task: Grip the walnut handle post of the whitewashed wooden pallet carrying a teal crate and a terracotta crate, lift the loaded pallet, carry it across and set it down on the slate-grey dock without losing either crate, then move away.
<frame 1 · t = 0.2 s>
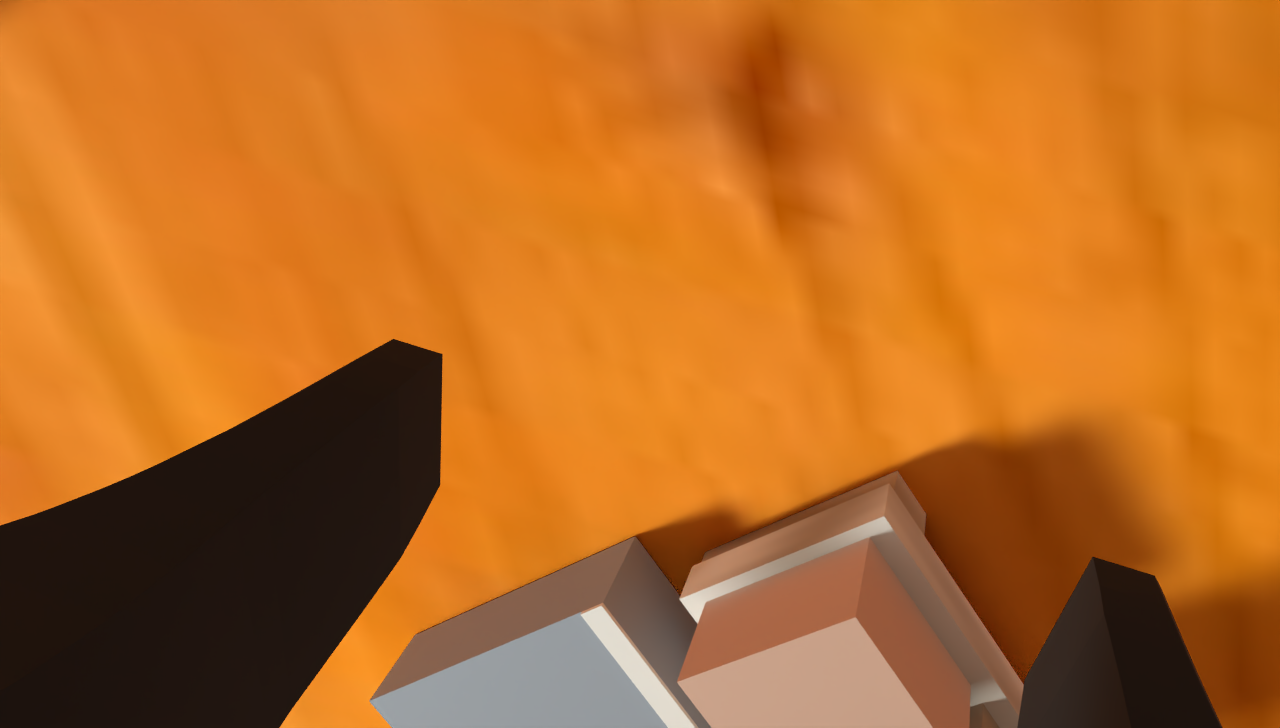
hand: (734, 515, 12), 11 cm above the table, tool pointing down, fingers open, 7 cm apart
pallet: (943, 723, 26), on the table, touching teal crate, terracotta crate
terracotta crate: (835, 642, 23), point 2 cm above the table, touching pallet
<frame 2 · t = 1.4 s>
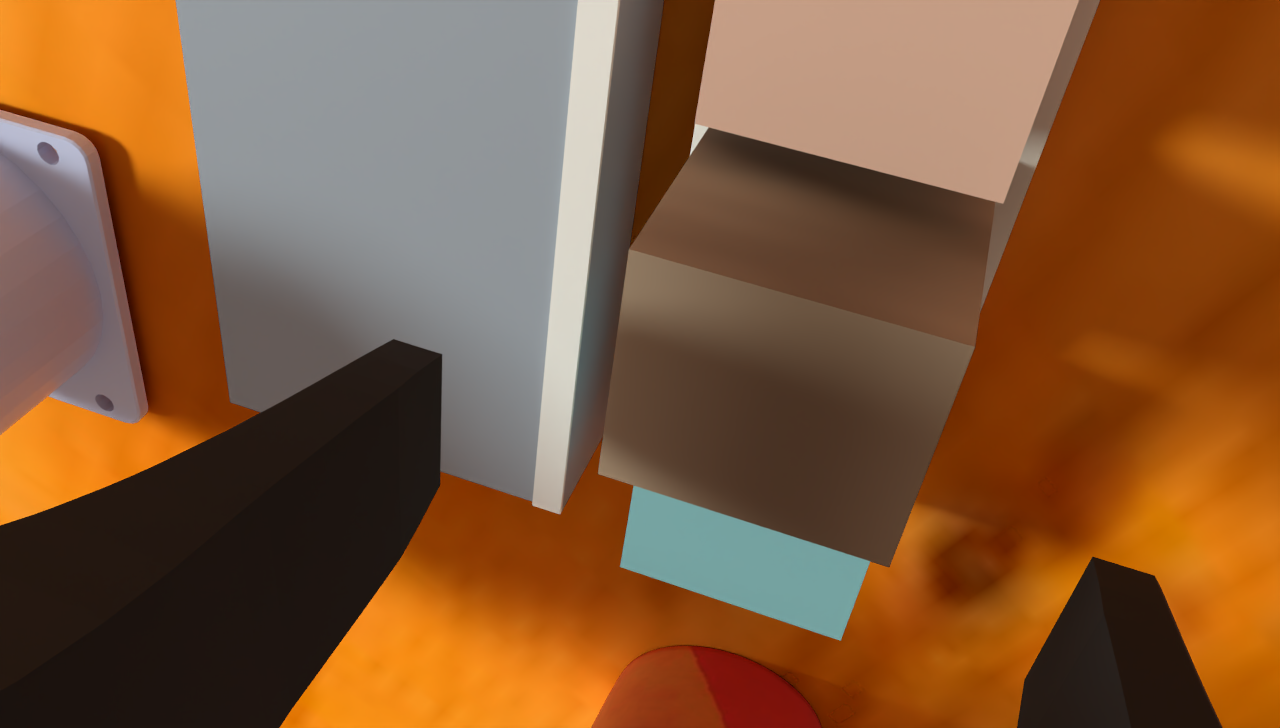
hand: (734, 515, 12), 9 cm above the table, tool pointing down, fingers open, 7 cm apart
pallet: (857, 171, 19), on the table, touching teal crate, terracotta crate
dock: (451, 67, 20), on the table
teal crate: (781, 430, 20), point 2 cm above the table, touching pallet
paper cup: (718, 712, 29), on the table
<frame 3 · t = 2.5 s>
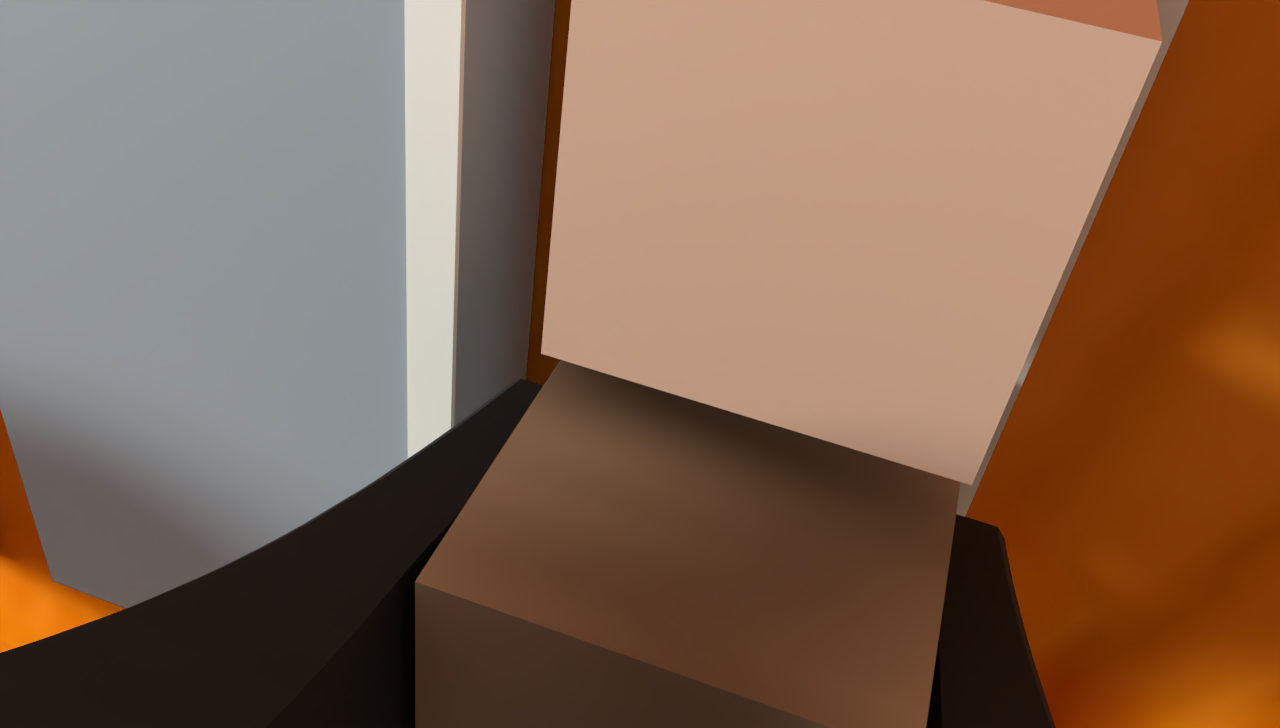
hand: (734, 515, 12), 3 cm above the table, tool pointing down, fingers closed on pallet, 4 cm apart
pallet: (797, 344, 15), on the table, touching gripper, teal crate, terracotta crate
dock: (293, 198, 16), on the table
terracotta crate: (848, 103, 11), point 2 cm above the table, touching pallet
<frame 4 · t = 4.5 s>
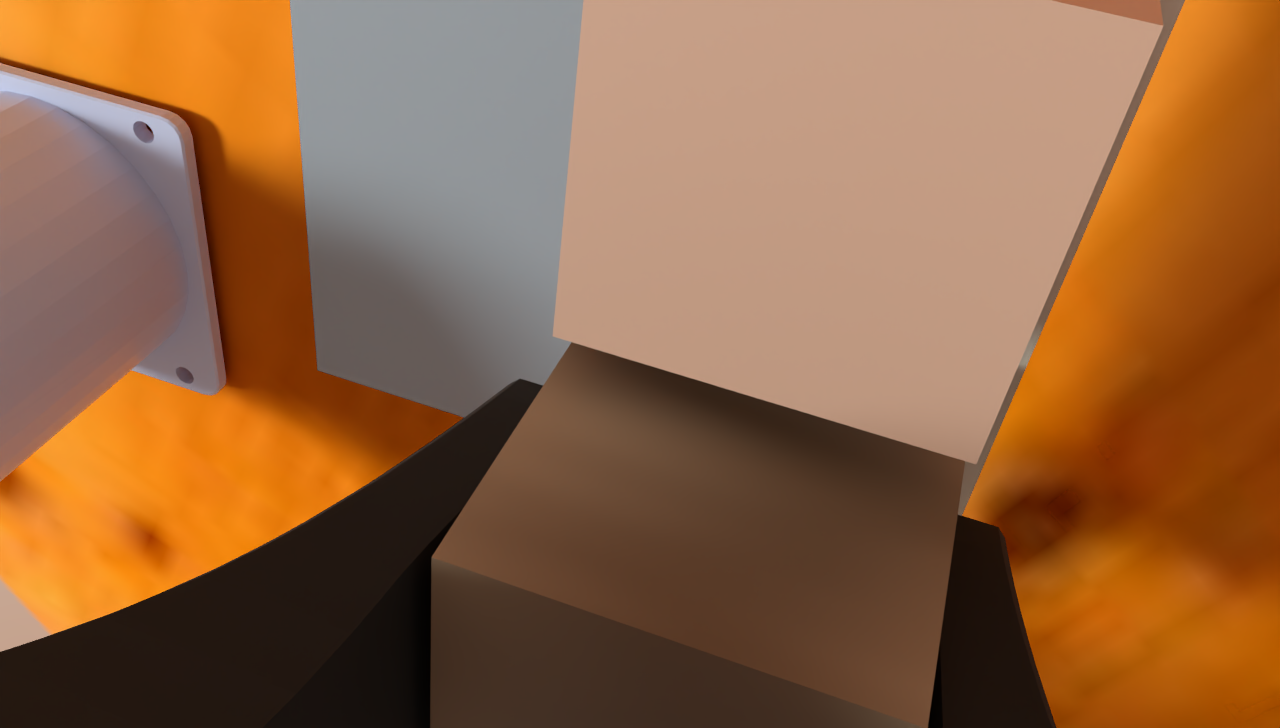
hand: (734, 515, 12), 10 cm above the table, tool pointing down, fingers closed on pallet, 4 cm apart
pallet: (802, 330, 15), point 7 cm above the table, touching gripper, teal crate, terracotta crate
dock: (540, 47, 21), on the table
terracotta crate: (855, 90, 11), point 9 cm above the table, touching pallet
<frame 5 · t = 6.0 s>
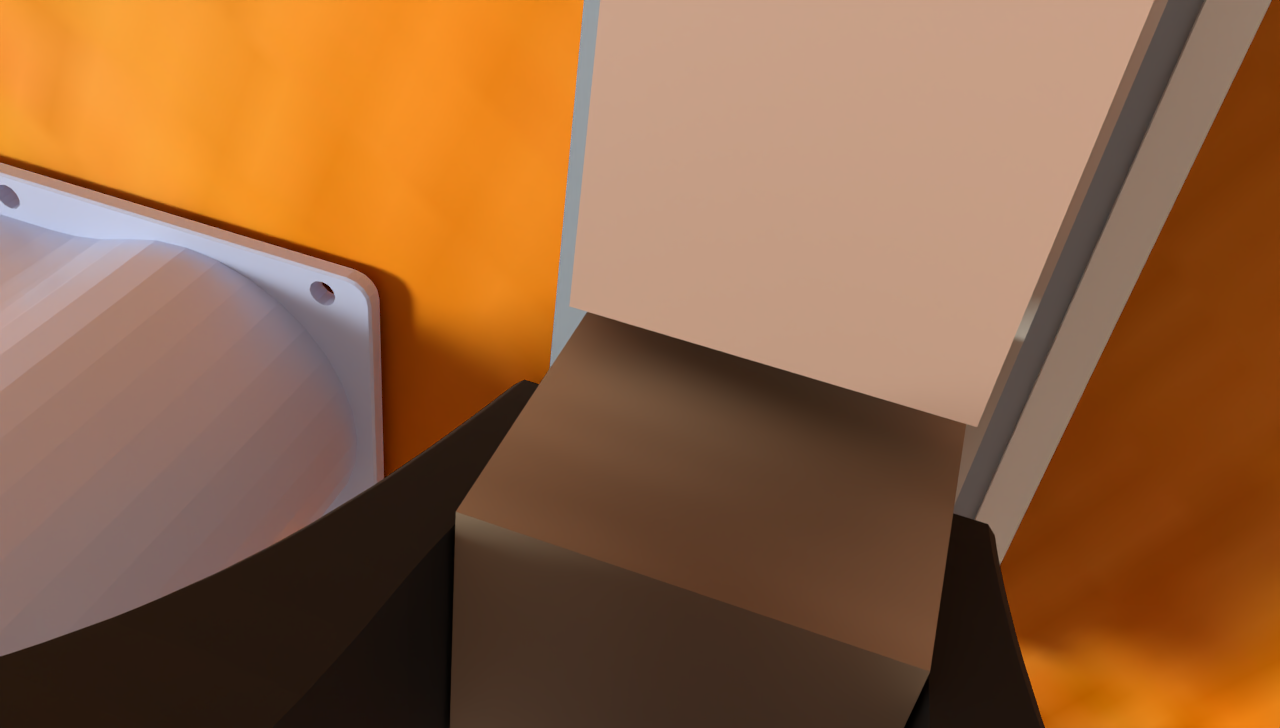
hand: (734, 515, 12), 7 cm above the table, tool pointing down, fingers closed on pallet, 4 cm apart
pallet: (807, 309, 15), point 3 cm above the table, touching gripper, teal crate, terracotta crate
dock: (843, 223, 18), on the table
terracotta crate: (860, 70, 11), point 5 cm above the table, touching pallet
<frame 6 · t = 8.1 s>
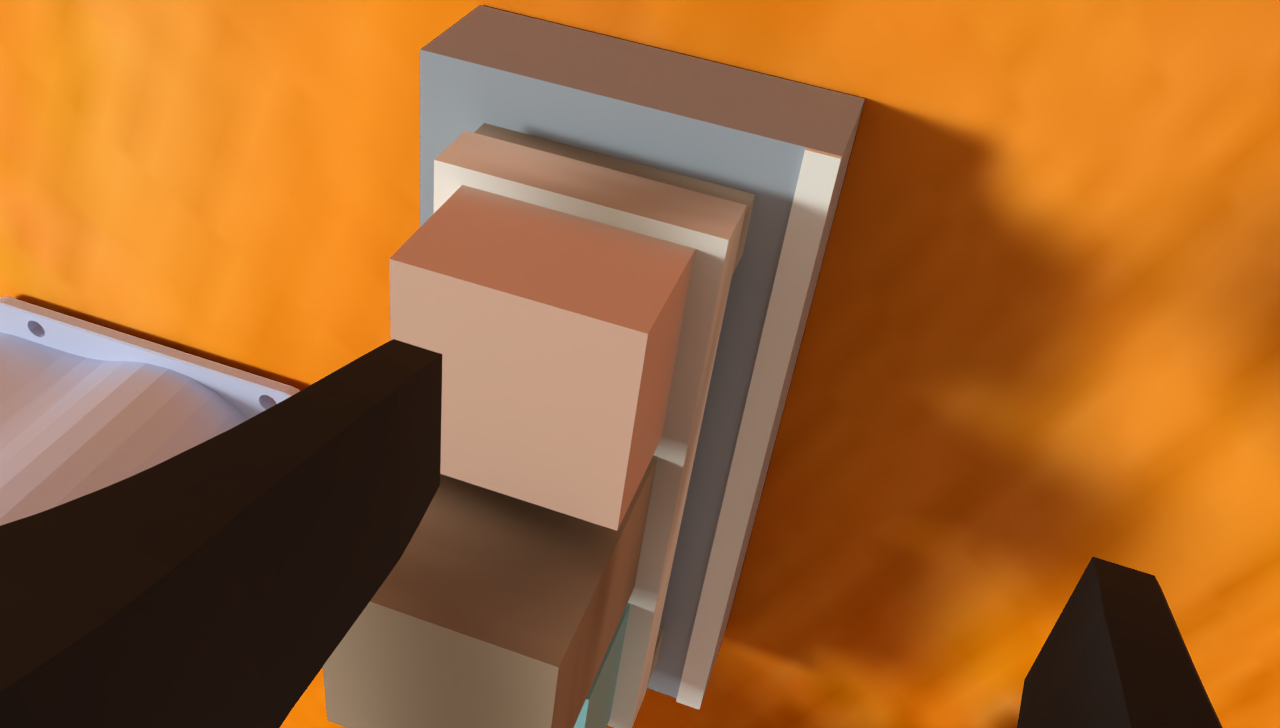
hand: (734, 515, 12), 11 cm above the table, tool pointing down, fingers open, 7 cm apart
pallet: (583, 432, 23), point 2 cm above the table, touching dock, teal crate, terracotta crate
dock: (621, 366, 25), on the table
terracotta crate: (566, 316, 19), point 4 cm above the table, touching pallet
teal crate: (533, 634, 24), point 4 cm above the table, touching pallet
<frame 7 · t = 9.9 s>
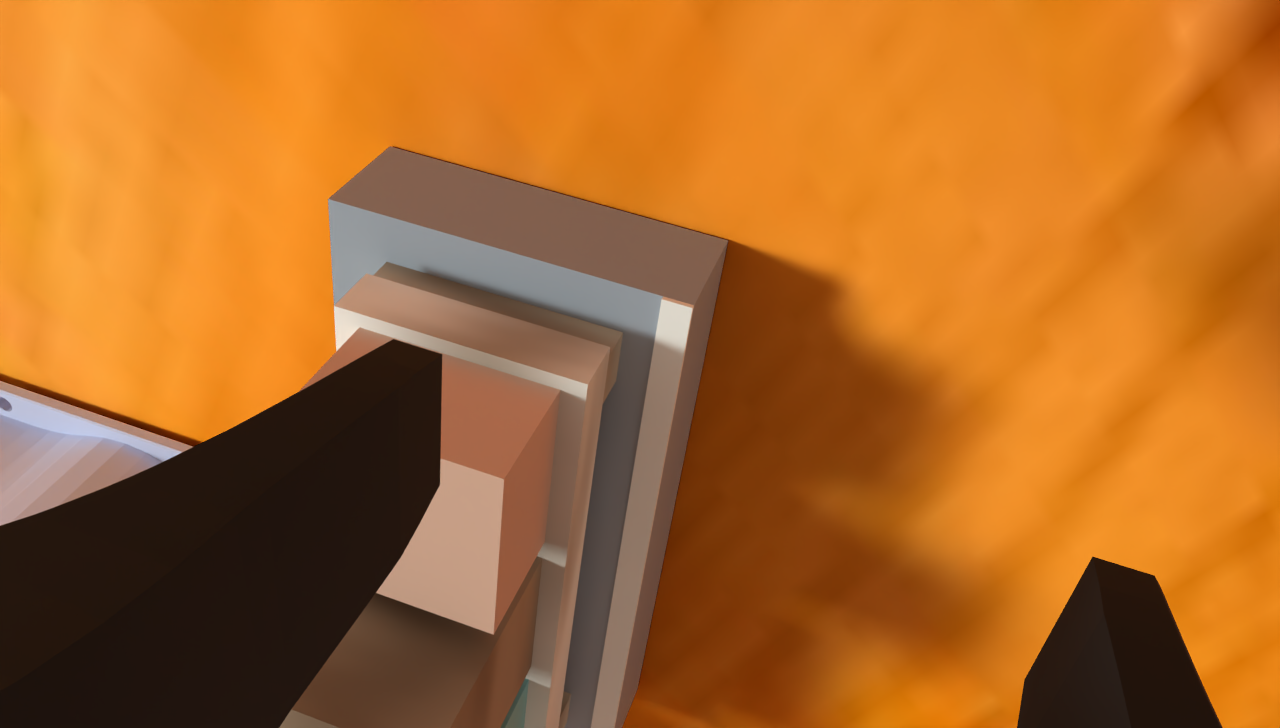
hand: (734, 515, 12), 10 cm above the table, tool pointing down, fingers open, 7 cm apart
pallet: (489, 522, 26), point 2 cm above the table, touching dock, teal crate, terracotta crate
dock: (531, 456, 28), on the table
terracotta crate: (455, 438, 22), point 4 cm above the table, touching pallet
teal crate: (446, 701, 27), point 4 cm above the table, touching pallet
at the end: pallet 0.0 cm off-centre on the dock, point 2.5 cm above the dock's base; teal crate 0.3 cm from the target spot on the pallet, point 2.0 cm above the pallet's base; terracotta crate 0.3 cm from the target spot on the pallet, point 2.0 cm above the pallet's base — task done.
